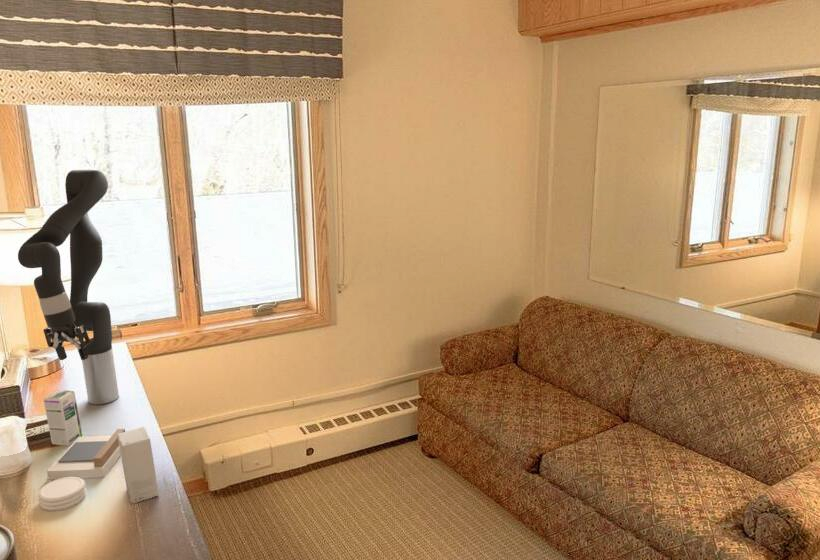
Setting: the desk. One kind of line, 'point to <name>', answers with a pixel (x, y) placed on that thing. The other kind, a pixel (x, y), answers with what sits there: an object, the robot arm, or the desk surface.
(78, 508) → the desk surface
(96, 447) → the display plinth
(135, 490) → the skincare box
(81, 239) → the robot arm
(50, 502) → the coaster
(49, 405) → the syrup box
